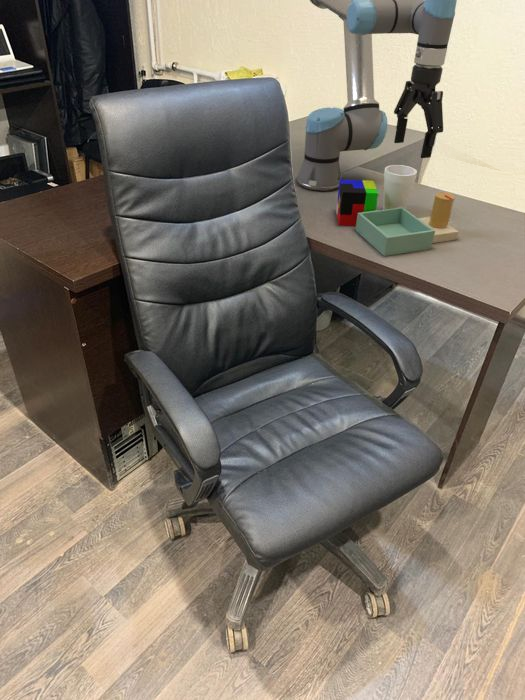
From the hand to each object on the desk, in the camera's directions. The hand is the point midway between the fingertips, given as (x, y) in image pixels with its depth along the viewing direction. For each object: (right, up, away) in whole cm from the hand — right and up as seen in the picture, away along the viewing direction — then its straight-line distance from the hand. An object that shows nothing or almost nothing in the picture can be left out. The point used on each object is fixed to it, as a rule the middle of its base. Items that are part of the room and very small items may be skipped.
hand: (411, 149), depth 148 cm
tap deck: (+7, -23, +3) cm, 24 cm away
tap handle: (+8, -21, +2) cm, 22 cm away
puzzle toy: (-15, -17, +10) cm, 25 cm away
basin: (-6, -25, -1) cm, 26 cm away
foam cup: (-2, -14, +14) cm, 20 cm away
